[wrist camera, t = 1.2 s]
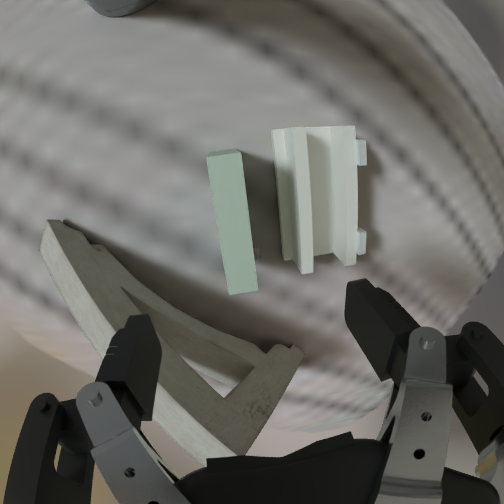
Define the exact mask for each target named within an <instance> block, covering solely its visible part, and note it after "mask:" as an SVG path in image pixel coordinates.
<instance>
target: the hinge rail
mask: <svg viewBox="0 0 504 504" xmlns="http://www.w3.org/2000/svg"><path fill="white" fill-rule="evenodd" d="M271 139H272V148H273V158H274V167H275V177H276V188H277V198H278V210H279V221H280V233H281V246H282V257H283V259H284V261H287V260H294V262H295V263H296V265H297V267H298V268H299V270H300V272H301V273H302V274H307V273H313V256H317V255H323V254H329V253H334V254H335V255H336V256H337V257H338V258H339V259H340V261H341V262H342V263H343V264H344V265H345V266H350V265H355V264H356V254H358V255H362V254H365V252H366V233H367V232H366V231H364V230H363V229H362V228H360V227H359V226H358V177H357V165H359V166H364V165H367V154H366V140H360V139H356V136H355V126H331V127H292V128H284V129H272V130H271Z"/></svg>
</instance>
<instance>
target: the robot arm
mask: <svg viewBox="0 0 504 504" xmlns="http://www.w3.org/2000/svg"><path fill="white" fill-rule="evenodd" d="M84 1H86V2H87V3H88V4H89V5H90V6H91V7H92V8H93V9H94V10H95V11H96V12H98V13H99V14H101V15H104V16H109V17H117V16H123V15H128V14H131V13H133V12H136V11H138V10H140V9H142V8H144V7H146V6H148V5H149V4H151V3H152V2H154V1H155V0H84ZM344 314H345V321H346V324H347V326H348V328H349V330H350V331H351V333H352V335H353V336H354V338H355V339H356V341H357V342H358V344H359V346H360V347H361V349H362V351H363V352H364V354H365V355H366V357H367V359H368V360H369V362H370V364H371V365H372V367H373V369H374V370H375V372H376V373H377V375H378V377H379V378H380V380H381V382H382V381H384V380H387V379H390V378H392V380H393V381H394V383H393V386H392V389H391V394H390V398H389V402H388V406H387V410H386V414H385V417H384V421H383V424H382V427H381V430H380V432H379V434H378V437H377V439H376V440H374V439H354V438H353V436H352V434H351V432H347V433H343V434H340V435H337V436H334V437H330V438H327V439H323V440H319V441H316V442H314V443H312V444H310V445H308V446H306V447H304V448H302V449H300V450H298V451H295V452H293V453H291V454H289V455H286V456H284V457H257V456H245V455H240V456H230V457H218V458H206V465H207V467H204V468H201V469H198V470H195V471H193V472H191V473H189V474H187V475H186V476H185V477H183V478H180V477H179V476H178V475H177V474H176V473H175V472H174V471H173V469H172V468H171V467H170V466H169V465H168V464H167V463H166V462H165V460H164V459H163V458H162V457H161V455H160V454H159V453H158V452H157V450H156V449H155V448H154V446H153V445H152V444H151V442H150V441H149V439H148V438H147V437H146V435H145V434H144V432H143V431H142V430H141V429H140V426H141V421H152V416H153V408H154V402H155V395H156V388H157V382H158V376H159V370H160V365H161V359H162V348H161V344H160V341H159V338H158V336H157V334H156V331H155V328H154V326H153V323H152V321H151V318H150V316H149V315H148V314H138V315H130V316H129V317H128V319H127V322H126V324H125V327H124V328H120V329H119V330H118V331H117V332H116V333H115V334H114V336H113V337H112V339H111V341H110V344H109V348H108V349H107V351H106V356H104V359H103V361H102V364H101V366H100V369H99V372H98V374H97V377H96V380H95V382H92V383H90V384H87V385H85V386H84V387H83V388H82V389H81V390H80V391H79V392H78V394H77V397H76V399H71V400H67V401H62V402H59V401H58V399H57V398H56V397H55V396H54V395H53V394H51V393H43V394H41V395H38V396H37V397H36V398H35V399H34V400H33V401H32V403H31V405H30V407H29V410H28V412H27V415H26V418H25V421H24V424H23V426H22V429H21V432H20V435H19V438H18V442H17V445H16V449H15V452H14V455H13V459H12V463H11V467H10V471H9V475H8V480H7V485H6V490H5V496H4V502H3V504H91V503H90V502H91V491H92V480H93V471H94V464H95V463H96V465H97V467H98V469H99V470H100V472H101V474H102V476H103V478H104V479H105V481H106V483H107V485H108V487H109V488H110V490H111V492H112V493H113V495H114V497H115V498H116V500H117V501H118V503H119V504H503V503H504V345H503V344H502V343H501V341H499V339H498V338H497V337H496V336H495V335H494V334H493V333H492V332H491V331H490V330H489V329H488V328H487V327H486V326H485V325H483V324H481V323H479V322H468V323H466V324H465V325H464V326H463V328H462V330H461V333H460V334H459V335H452V336H444V335H443V334H442V333H441V332H440V331H438V330H437V329H435V328H432V327H420V325H419V324H418V323H417V322H416V321H415V320H414V319H413V318H412V317H411V316H410V314H409V313H408V312H407V311H406V310H405V309H404V308H403V307H401V305H400V304H399V303H398V302H397V301H396V300H395V299H394V298H393V297H392V295H391V294H390V293H389V292H387V291H385V290H383V289H381V288H379V287H378V288H375V287H374V286H373V285H372V284H371V283H370V282H369V281H368V280H367V279H366V278H364V279H359V280H355V281H350V282H348V283H347V288H346V301H345V313H344ZM476 370H477V371H478V373H479V374H480V375H481V377H482V378H483V380H484V381H485V382H486V384H487V385H488V388H489V394H488V397H487V396H486V394H485V392H484V391H483V389H482V388H481V387H480V385H479V384H478V383H477V381H476V380H475V378H474V377H473V375H474V373H475V372H476ZM452 408H453V409H454V411H455V413H456V414H457V416H458V418H459V419H460V421H461V423H462V425H463V426H464V428H465V430H466V432H467V433H468V435H469V437H470V439H471V441H472V443H473V445H474V447H475V449H476V450H477V452H478V454H479V457H478V465H477V466H476V468H475V473H476V475H477V476H480V478H477V477H474V476H471V475H468V474H465V473H462V472H459V471H456V470H453V469H450V468H447V467H444V466H445V460H446V455H447V448H448V442H449V434H450V425H451V414H452ZM58 444H59V445H60V446H62V447H61V452H60V456H59V461H58V467H57V472H56V470H55V467H54V459H55V454H56V450H57V445H58Z"/></svg>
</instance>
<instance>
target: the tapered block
mask: <svg viewBox="0 0 504 504" xmlns="http://www.w3.org/2000/svg"><path fill="white" fill-rule="evenodd" d="M206 159H207V166H208V172H209V179H210V185H211V192H212V198H213V205H214V211H215V217H216V223H217V229H218V235H219V241H220V247H221V252H222V258H223V264H224V269H225V275H226V280H227V286H228V291H229V295H233V294H239V293H246V292H252V291H258V284H257V276H256V268H255V260H254V259H257V258H261V252H260V247H254V248H253V244H252V236H251V228H250V220H249V212H248V204H247V196H246V187H245V179H244V171H243V163H242V155H241V152H240V151H238V150H236V149H227V150H220V151H213V152H210V153H209V154H208V156H207V157H206Z"/></svg>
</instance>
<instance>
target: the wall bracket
mask: <svg viewBox="0 0 504 504" xmlns="http://www.w3.org/2000/svg"><path fill="white" fill-rule="evenodd" d="M39 251H40V254H41V256H42V258H43V260H44V262H45V264H46V267H47V269H48V271H49V273H50V275H51V277H52V279H53V281H54V283H55V285H56V286H57V288H58V290H59V292H60V294H61V296H62V298H63V299H64V301H65V303H66V305H67V306H68V308H69V310H70V311H71V313H72V315H73V316H74V318H75V320H76V321H77V323H78V325H79V326H80V328H81V329H82V331H83V332H84V334H85V335H86V337H87V338H88V340H89V341H90V343H91V344H92V346H93V347H94V349H95V350H96V351H97V353H98V354H99V356H100V357H101V358H102V360H103V359H104V356H106V351H107V349H108V348H109V344H110V341H111V339H112V337H113V336H114V334H115V333H116V332H117V331H118V330H119V329H120V328H124V327H125V324H126V322H127V319H128V317H129V316H130V315H138V314H148V315H149V316H150V318H151V321H152V323H153V326H154V328H155V331H156V334H157V336H158V338H159V341H160V344H161V348H162V359H161V365H160V370H159V376H158V382H157V388H156V395H155V402H154V408H153V416H152V419H153V420H154V421H155V422H156V423H157V424H158V425H159V426H160V427H161V428H162V429H163V430H164V431H165V432H166V433H167V434H168V435H169V436H170V437H171V438H172V439H173V440H174V441H175V442H176V443H177V444H178V445H180V446H181V447H182V448H183V449H184V450H185V451H186V452H188V454H190V455H191V456H192V457H193V458H194V459H195V460H197V461H198V462H199V463H200V464H201V465H203V466H204V467H207V465H206V458H218V457H230V456H240V455H245V454H246V453H247V451H248V450H249V448H250V447H251V445H252V444H253V442H254V441H255V439H256V438H257V436H258V435H259V433H260V432H261V430H262V428H263V427H264V425H265V424H266V422H267V420H268V419H269V417H270V415H271V414H272V412H273V411H274V409H275V407H276V406H277V404H278V402H279V400H280V399H281V397H282V395H283V393H284V392H285V390H286V388H287V386H288V385H289V383H290V381H291V379H292V377H293V376H294V374H295V372H296V370H297V368H298V366H299V365H300V363H301V361H302V359H303V357H304V355H305V353H304V352H303V351H302V350H300V349H299V348H298V347H297V346H296V345H294V344H293V345H292V346H291V347H290V348H287V347H286V346H284V345H282V344H275V345H274V346H273V347H272V348H271V349H270V350H269V351H268V352H267V353H266V354H265V353H264V352H263V351H262V350H260V349H259V348H258V347H257V346H256V345H255V344H254V343H251V342H248V341H245V340H243V339H240V338H237V337H234V336H232V335H229V334H227V333H224V332H221V331H219V330H217V329H215V328H213V327H211V326H209V325H207V324H205V323H203V322H201V321H199V320H197V319H195V318H193V317H191V316H189V315H188V314H186V313H184V312H182V311H180V310H178V309H177V308H175V307H173V306H172V305H170V304H169V303H168V302H166V301H165V300H163V299H162V298H161V297H159V296H158V295H157V294H155V293H154V292H153V291H151V290H150V289H149V288H147V287H146V286H145V285H143V284H142V283H141V282H139V281H138V280H137V279H135V278H134V277H133V276H132V275H131V274H130V273H129V272H128V271H127V270H126V269H125V268H124V267H123V266H122V264H121V263H120V262H119V261H118V260H117V259H116V258H115V257H114V256H113V255H112V254H111V253H110V252H109V251H108V250H107V249H106V248H105V247H104V246H102V245H101V244H98V245H90V243H89V242H88V240H87V239H86V237H85V236H84V234H83V233H82V232H80V231H78V230H75V229H72V228H70V227H68V226H66V225H64V224H63V223H62V222H61V221H60V220H47V222H46V226H45V229H44V233H43V236H42V240H41V244H40V248H39ZM191 367H192V368H194V369H196V370H198V371H200V372H202V373H204V374H206V375H208V376H210V377H212V378H214V379H216V380H218V381H220V382H222V383H224V384H226V385H228V386H230V387H231V388H233V389H232V390H231V391H230V392H229V393H228V394H227V395H226V396H225V397H224V398H223V397H222V396H221V395H220V394H218V393H217V392H216V391H215V390H214V389H213V388H212V387H211V386H210V385H209V384H208V383H207V382H206V381H205V380H204V379H203V378H202V377H200V376H199V375H198V374H197V373H196V372H195V371H194V370H193V369H192V368H191Z"/></svg>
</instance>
